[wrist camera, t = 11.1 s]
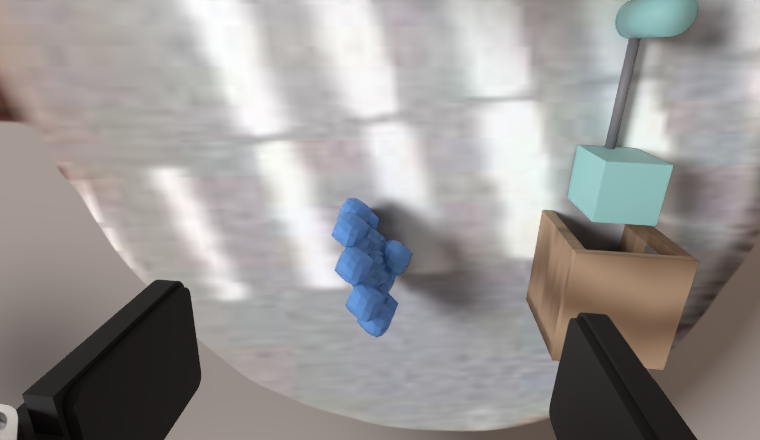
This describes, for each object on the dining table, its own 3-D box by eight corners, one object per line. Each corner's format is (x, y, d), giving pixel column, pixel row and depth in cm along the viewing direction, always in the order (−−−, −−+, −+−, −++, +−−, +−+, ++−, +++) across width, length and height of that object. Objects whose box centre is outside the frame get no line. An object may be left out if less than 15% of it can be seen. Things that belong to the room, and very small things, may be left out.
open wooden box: (542, 210, 42) (576, 253, 33) (638, 216, 42) (699, 261, 33) (526, 299, 46) (552, 360, 37) (614, 306, 45) (663, 369, 36)
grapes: (429, 277, 46) (432, 349, 35) (368, 292, 47) (352, 366, 36) (396, 175, 42) (388, 218, 31) (332, 193, 44) (301, 242, 33)
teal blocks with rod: (607, -3, 35) (645, -14, 29) (671, -1, 35) (723, -12, 29) (567, 197, 42) (592, 221, 36) (621, 200, 41) (656, 225, 35)
